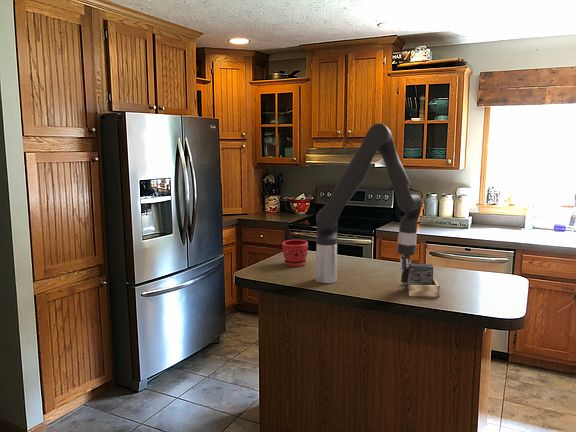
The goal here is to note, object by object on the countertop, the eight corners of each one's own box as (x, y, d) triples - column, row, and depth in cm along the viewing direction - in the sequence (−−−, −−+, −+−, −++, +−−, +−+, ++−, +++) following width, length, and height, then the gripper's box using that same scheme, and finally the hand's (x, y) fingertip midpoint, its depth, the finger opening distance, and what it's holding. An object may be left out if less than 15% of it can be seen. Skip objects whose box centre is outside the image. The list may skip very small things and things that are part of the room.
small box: (431, 287, 199) (432, 263, 197) (433, 292, 193) (433, 267, 191) (406, 286, 201) (407, 262, 200) (406, 290, 195) (407, 266, 194)
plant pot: (281, 262, 245) (281, 239, 244) (305, 261, 247) (305, 239, 245) (283, 268, 233) (283, 244, 231) (309, 267, 234) (309, 244, 232)
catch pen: (409, 295, 188) (409, 285, 187) (403, 283, 205) (403, 273, 205) (439, 296, 187) (439, 286, 186) (431, 284, 204) (431, 274, 203)
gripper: (395, 238, 201) (393, 277, 203) (399, 245, 188) (396, 286, 190) (413, 239, 200) (410, 278, 203) (418, 246, 187) (415, 287, 190)
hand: (403, 282), depth 197 cm, fingers closed
